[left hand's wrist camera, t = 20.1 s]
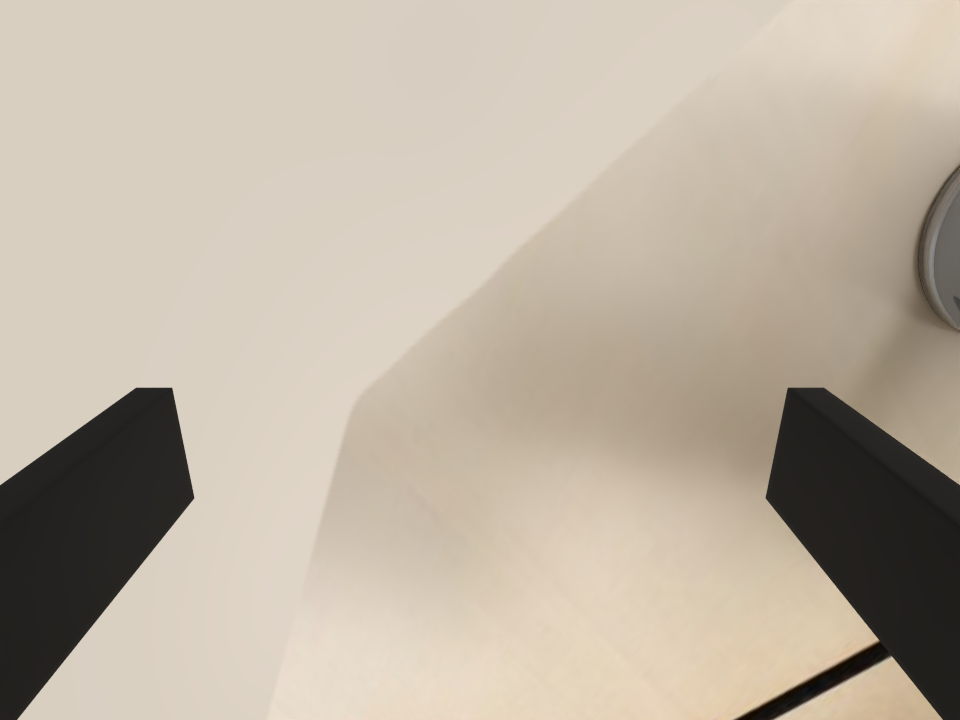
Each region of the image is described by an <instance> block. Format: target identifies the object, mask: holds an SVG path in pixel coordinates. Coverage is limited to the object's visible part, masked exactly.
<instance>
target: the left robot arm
mask: <svg viewBox="0 0 960 720" xmlns="http://www.w3.org/2000/svg"><path fill="white" fill-rule="evenodd" d="M919 274H920V280H921V284H922V287H923V291H924V293H925V295H926V298H927V300H928V301H929V303H930V305H931V306H932V308H933V309H934V310H935V312H936V313H937V314H938V315H939V316H940V317H941V318H942V319H943V320H944V321H945V322H947V323H948V324H949V325H951V326H952V327H954V328H956V329H958V330H960V168H959V169H958V170H957V171H956V172H955V173H954V174H953V176H952V177H951V178H950V180H949V181H948V182H947V184H946V185H945V186H944V188H943V189H942V191H941V193H940V194H939V196H938V197H937V199H936V201H935V203H934V205H933V207H932V209H931V211H930V213H929V216H928V218H927V221H926V223H925V226H924V229H923V233H922V237H921V242H920V249H919ZM193 499H194V494H193V489H192V484H191V479H190V474H189V469H188V464H187V459H186V454H185V449H184V444H183V439H182V434H181V429H180V424H179V420H178V415H177V410H176V405H175V400H174V395H173V390H172V388H135V389H134V390H132V391H131V392H130V393H128V394H127V395H125V396H124V397H123V398H121V399H120V400H119V401H117V402H116V403H114V404H113V405H112V406H110V407H109V408H107V409H106V410H105V411H103V412H102V413H100V414H99V415H98V416H96V417H95V418H93V419H92V420H91V421H89V422H88V423H86V424H85V425H84V426H82V427H81V428H79V429H78V430H77V431H75V432H74V433H72V434H71V435H70V436H68V437H67V438H66V439H64V440H63V441H61V442H60V443H59V444H57V445H56V446H54V447H53V448H52V449H50V450H49V451H47V452H46V453H45V454H43V455H42V456H40V457H39V458H38V459H36V460H35V461H33V462H32V463H31V464H29V465H28V466H26V467H25V468H24V469H22V470H21V471H20V472H18V473H17V474H15V475H14V476H13V477H11V478H10V479H8V480H7V481H6V482H4V483H3V484H1V485H0V720H17V719H18V718H19V717H20V715H21V714H22V713H23V712H24V710H25V709H26V708H27V707H28V705H29V704H30V703H31V702H32V700H33V699H34V698H35V697H36V695H37V694H38V693H39V692H40V690H41V689H42V688H43V687H44V685H45V684H46V683H47V682H48V680H49V679H50V678H51V677H52V675H53V674H54V673H55V672H56V670H57V669H58V668H59V667H60V665H61V664H62V663H63V662H64V660H65V659H66V658H67V657H68V655H69V654H70V653H71V652H72V650H73V649H74V648H75V647H76V645H77V644H78V643H79V642H80V640H81V639H82V638H83V637H84V635H85V634H86V633H87V632H88V630H89V629H90V628H91V627H92V625H93V624H94V623H95V622H96V620H97V619H98V618H99V617H100V615H101V614H102V613H103V612H104V610H105V609H106V608H107V607H108V605H109V604H110V603H111V602H112V600H113V599H114V598H115V597H116V595H117V594H118V593H119V592H120V590H121V589H122V588H123V587H124V585H125V584H126V583H127V582H128V580H129V579H130V578H131V577H132V575H133V574H134V573H135V572H136V570H137V569H138V568H139V567H140V565H141V564H142V563H143V562H144V560H145V559H146V558H147V557H148V555H149V554H150V553H151V552H152V550H153V549H154V548H155V547H156V545H157V544H158V543H159V542H160V540H161V539H162V538H163V537H164V535H165V534H166V533H167V532H168V530H169V529H170V528H171V527H172V525H173V524H174V523H175V522H176V520H177V519H178V518H179V517H180V515H181V514H182V513H183V512H184V510H185V509H186V508H187V507H188V505H189V504H190V503H191V502H192V500H193ZM766 499H767V500H768V502H769V503H770V504H771V505H772V507H773V508H774V509H775V510H776V512H777V513H778V514H779V515H780V517H781V518H782V519H783V520H784V522H785V523H786V524H787V525H788V527H789V528H790V529H791V530H792V532H793V533H794V534H795V535H796V537H797V538H798V539H799V540H800V542H801V543H802V544H803V545H804V547H805V548H806V549H807V550H808V552H809V553H810V554H811V555H812V557H813V558H814V559H815V560H816V562H817V563H818V564H819V565H820V567H821V568H822V569H823V570H824V572H825V573H826V574H827V575H828V577H829V578H830V579H831V580H832V582H833V583H834V584H835V585H836V587H837V588H838V589H839V590H840V592H841V593H842V594H843V595H844V597H845V598H846V599H847V600H848V602H849V603H850V604H851V605H852V607H853V608H854V609H855V610H856V612H857V613H858V614H859V615H860V617H861V618H862V619H863V620H864V622H865V623H866V624H867V625H868V627H869V628H870V629H871V630H872V632H873V633H874V634H875V635H876V637H877V638H878V639H879V640H880V642H881V643H882V644H883V645H884V647H885V648H886V649H887V650H888V652H889V653H890V654H891V655H892V657H893V658H894V659H895V660H896V662H897V663H898V664H899V665H900V667H901V668H902V669H903V670H904V672H905V673H906V674H907V675H908V677H909V678H910V679H911V680H912V682H913V683H914V684H915V685H916V687H917V688H918V689H919V690H920V692H921V693H922V694H923V695H924V697H925V698H926V699H927V700H928V702H929V703H930V704H931V705H932V707H933V708H934V709H935V710H936V712H937V713H938V714H939V715H940V717H941V718H942V719H943V720H960V485H959V484H957V483H956V482H954V481H953V480H952V479H950V478H949V477H947V476H946V475H945V474H943V473H942V472H941V471H939V470H938V469H936V468H935V467H934V466H932V465H931V464H929V463H928V462H927V461H925V460H924V459H922V458H921V457H920V456H918V455H917V454H915V453H914V452H913V451H911V450H910V449H908V448H907V447H906V446H904V445H903V444H901V443H900V442H899V441H897V440H896V439H895V438H893V437H892V436H890V435H889V434H888V433H886V432H885V431H883V430H882V429H881V428H879V427H878V426H876V425H875V424H874V423H872V422H871V421H869V420H868V419H867V418H865V417H864V416H862V415H861V414H860V413H858V412H857V411H855V410H854V409H853V408H851V407H850V406H849V405H847V404H846V403H844V402H843V401H842V400H840V399H839V398H837V397H836V396H835V395H833V394H832V393H830V392H829V391H828V390H826V389H825V388H788V390H787V395H786V400H785V405H784V410H783V414H782V419H781V424H780V429H779V434H778V439H777V444H776V449H775V454H774V459H773V464H772V469H771V474H770V479H769V484H768V489H767V494H766Z"/></svg>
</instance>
